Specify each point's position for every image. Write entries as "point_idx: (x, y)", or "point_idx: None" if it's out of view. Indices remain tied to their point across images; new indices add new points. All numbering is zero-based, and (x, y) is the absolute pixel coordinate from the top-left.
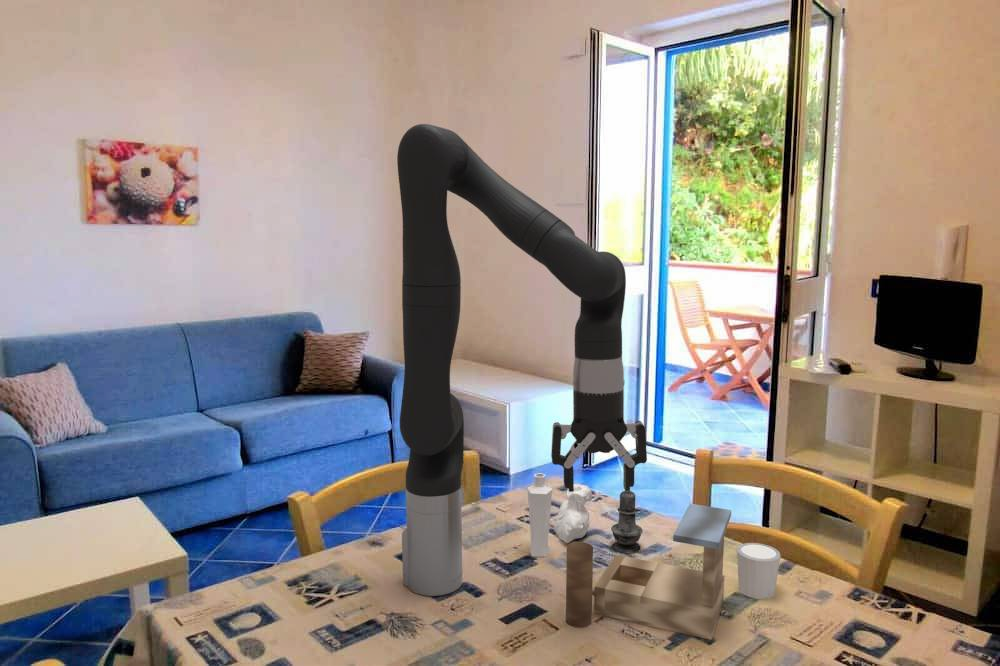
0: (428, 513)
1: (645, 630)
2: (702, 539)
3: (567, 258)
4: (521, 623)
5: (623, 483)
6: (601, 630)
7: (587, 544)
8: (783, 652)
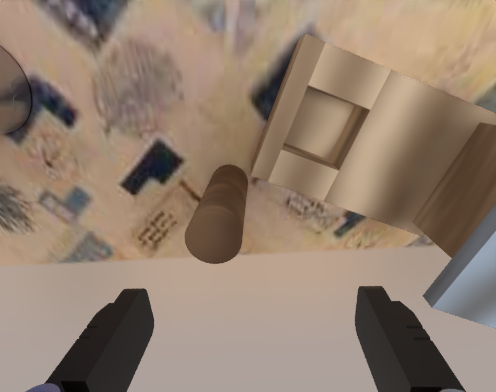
0: None
1: None
2: (492, 325)
3: None
4: (153, 193)
5: (363, 292)
6: (259, 203)
7: (229, 227)
8: None
